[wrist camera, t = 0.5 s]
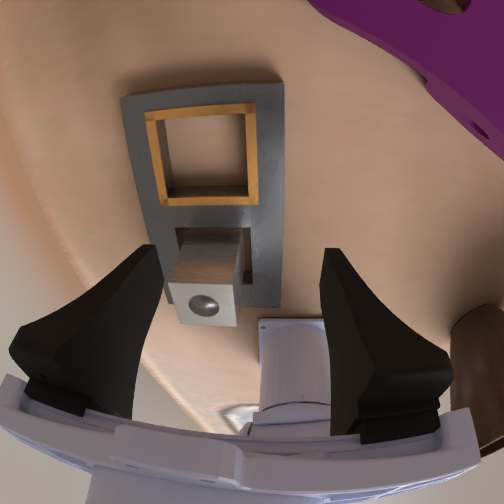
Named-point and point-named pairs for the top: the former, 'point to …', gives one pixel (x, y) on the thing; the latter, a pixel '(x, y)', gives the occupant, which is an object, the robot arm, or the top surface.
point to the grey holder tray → (213, 197)
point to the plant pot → (480, 374)
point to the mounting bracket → (440, 53)
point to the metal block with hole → (209, 276)
